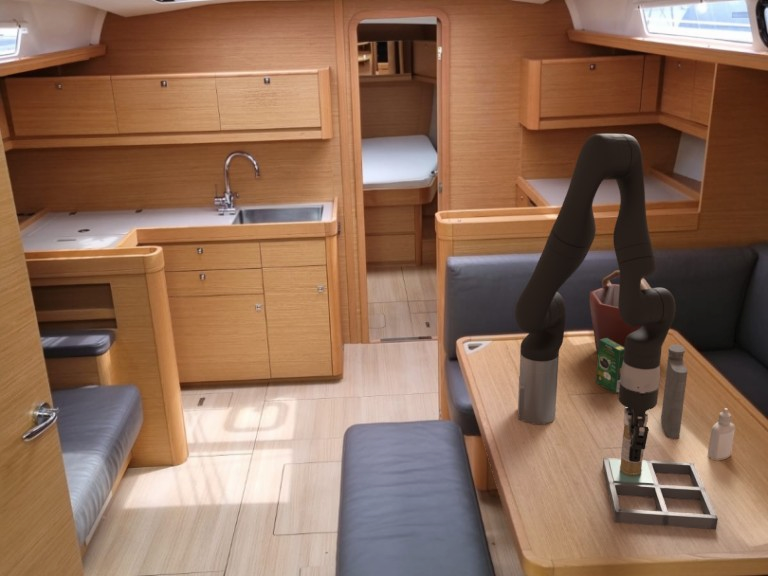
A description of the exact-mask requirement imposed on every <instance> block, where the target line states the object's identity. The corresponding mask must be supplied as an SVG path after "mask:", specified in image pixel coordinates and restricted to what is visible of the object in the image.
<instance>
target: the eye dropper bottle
mask: <svg viewBox="0 0 768 576" xmlns="http://www.w3.org/2000/svg"><path fill="white" fill-rule="evenodd" d="M718 414H719V415H718V419H717V422H715V423H714V424H713V426H712V427H711V431H710V436H709V443H708V450H707V457H709V458H710V459H712V460H714V461H723V460H725V459H728V458H729V457H730V456H731V455H732V451H733V446H734V439H735V430H736V426H735V425H736V424H734V423H733V422H732V421H731V420H732V414H731V413H730V412H729V409H728V408H727V407H724V408H723V410H722V411H721V412H719V413H718Z"/></svg>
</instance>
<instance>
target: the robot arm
mask: <svg viewBox="0 0 768 576" xmlns="http://www.w3.org/2000/svg"><path fill="white" fill-rule="evenodd" d="M580 148H581V149H580V151H579V153H578V157H577V160H576V163H575V166H574V170H573V173H572V176H571V178H570V182H569V186H568V188H567V191H566V195H565V197H564V199H563V202H562V204H561V207H560V210H559V212H558V214H557V217H556V219H555V222H554V224H553V225H552V227H551V230H550V232H549V235H548V237H547V239H546V242H545V245H544V248H543V250H542V252H541V255H540V257H539V258H538V261H537V263H536V266H535V269H534V271H533V273H532V275H531V277H530V279H529V280H528V282H527V284H526V285H525V287H524V289H523V291H522V293H521V294H520V296H519V297H518V299H517V301H516V305H515V307H514V318H515V322H516V324H517V326H518V327H519V329H520V330H521V331H523V332H525V333H528V334H527V335H526V336H525V337H524V338H523V339H522V340H521V343H520V348H519V349H520V351H519V352H520V353H519V354H520V355H519V357H520V358H519V376H518V395H517V396H518V398H517V416H518V417H517V420H518V421H522V422H523V421H524V422H525V423H529V424H532V425H533V424H534V425H545V424H550V423H551V422H553V421H554V420H555V418H556V413H557V412H556V411H557V391H558V390H557V389H558V374H559V361H560V355H559V354H560V349H561V347H562V345H563V342H564V335H565V329H566V328H565V325H566V316H567V310H566V304H565V301H564V298H563V297H562V295H561V294H560V292H558V291H559V289H560V288H561V287H562V286H563V285H564V284H565V283H566V282H567V280H569V278H571V276H573V274H574V273H575V272H576V271H577V270H578V269H579V267H580V266H581V265H582V263H583V262H584V261H585V259H586V257H587V255H588V253H589V251H590V248H591V247H592V245H593V243H594V240H595V237H596V233H597V232H596V229H597V228H596V227H597V226H596V220H595V215H594V209H593V203H594V200H595V197H596V195H597V192H598V190H599V187H600V185H601V184H602V182H604V181H606V180H607V181H609V180H610V181H611V180H612V181H613V180H615V181H616V184H617V187H618V191H619V196H620V197H619V198H620V203H619V211H618V213H617V218H616V222H615V224H614V230H613V238H612V239H613V247H614V252H615V256H616V261H617V266H618V269H619V271H620V276H619V282H618V284H619V301H618V308H619V313H620V316H621V318H622V319H623V321H624V322H625V323H626V324H628V325H629V326H633V327H637V326H642V327H641V328H640V329H638V330H636V331H634V332H632V333H630V334H629V335H628V336H627V337H626V340H625V347H624V358H623V364H622V368H621V377H620V388H619V393H618V401H619V403H620V404H621V405H622V406H623V407H624V414H625V413H627V420H628V434H629V435H630V450H629V461H631V462H639V461H640V458H641V449H644V450H645V449H646V444H647V440H648V436H649V435H648V434H649V431H650V430H649V427H648V426H647V425H646V423H647V424H648V421H649V416H648V415H649V414H648V413H646V412H647V411H650V410H652V409H654V408H655V407H656V406H657V405H658V396H659V390H660V378H661V358H662V357H661V356H662V349H663V348H662V347H663V345H664V342H665V340H666V338H667V336H668V333H669V331H670V328H671V326H672V324H673V322H674V319H675V315H676V300H675V297H674V296H673V294H672V292H671V291H670V290H669V289H667V288H664V287H651V289H643V290H640V284H641V280H642V279H645V278H648V277H650V276H652V275H654V274H655V273H656V272H657V261H656V258H655V251H654V248H653V243H652V239H651V236H650V231H649V225H648V219H647V208H646V207H647V206H646V192H645V190H646V189H645V178H644V176H645V175H644V163H643V155H642V154H643V153H642V150H641V146H640V143H639V142H638V140H637V138H636V137H634V136H632V135H630V134H626V133H596V134H592V135H590V136H589V137H588V138H586V139H585V142H584V143H583V144H582V146H581V147H580ZM631 428H632V429H634V431H632V430H631Z"/></svg>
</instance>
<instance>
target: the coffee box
mask: <svg viewBox="0 0 768 576" xmlns="http://www.w3.org/2000/svg"><path fill="white" fill-rule="evenodd" d="M623 358H624V347H623V346H621V345H619V344H617V343H615V342H613V341H612V340H610V339H608V338H604V339H600V340H599V351H598V353H597V363H596V373H595V383H596V384H598V385H599V386H601V387H603V388H605V389H607V390H608V391H610V393H613V394H615V395H618V394H619V388H620V377H621V368H622V364H623Z"/></svg>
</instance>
